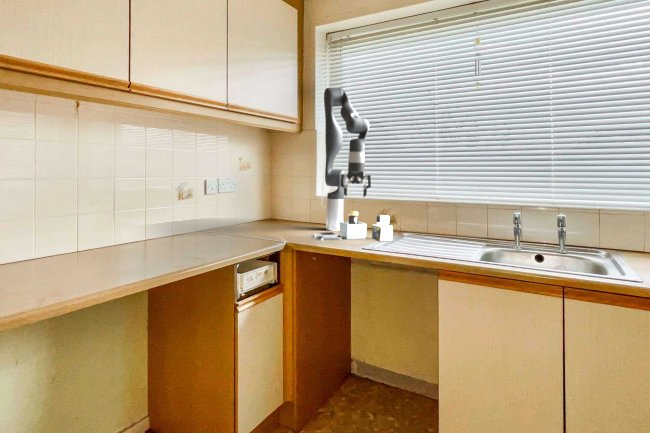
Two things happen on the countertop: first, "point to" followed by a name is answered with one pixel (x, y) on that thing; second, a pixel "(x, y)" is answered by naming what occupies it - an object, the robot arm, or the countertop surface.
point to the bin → (353, 230)
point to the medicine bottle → (382, 229)
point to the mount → (327, 236)
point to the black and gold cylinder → (353, 217)
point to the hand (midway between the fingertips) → (355, 196)
